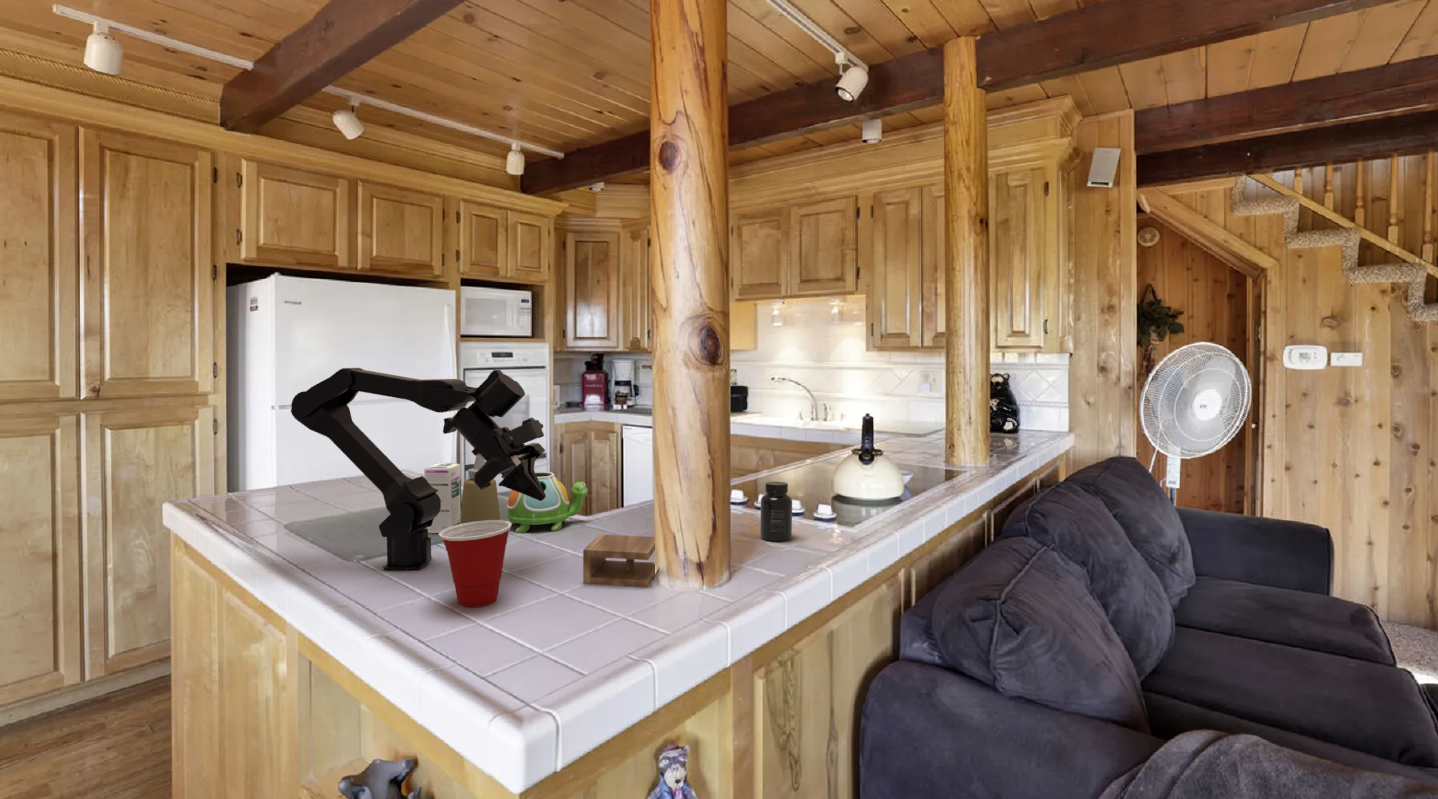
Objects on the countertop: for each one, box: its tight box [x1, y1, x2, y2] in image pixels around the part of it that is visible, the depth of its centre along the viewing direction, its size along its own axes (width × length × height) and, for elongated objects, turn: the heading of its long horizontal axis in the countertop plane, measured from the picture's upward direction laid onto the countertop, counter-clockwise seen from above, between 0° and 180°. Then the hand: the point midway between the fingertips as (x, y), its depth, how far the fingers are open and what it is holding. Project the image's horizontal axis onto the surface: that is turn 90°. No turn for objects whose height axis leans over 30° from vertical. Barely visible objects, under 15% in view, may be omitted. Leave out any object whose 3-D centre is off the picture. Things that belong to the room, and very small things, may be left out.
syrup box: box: [423, 462, 462, 534], centre depth 147 cm, size 6×6×14 cm
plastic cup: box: [438, 519, 513, 608], centre depth 106 cm, size 11×11×12 cm
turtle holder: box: [506, 471, 589, 533], centre depth 153 cm, size 12×18×12 cm
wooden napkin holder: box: [582, 533, 656, 588], centre depth 119 cm, size 6×10×11 cm
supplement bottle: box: [759, 481, 793, 542], centre depth 145 cm, size 7×7×12 cm
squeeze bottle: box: [460, 454, 501, 524], centre depth 142 cm, size 8×8×18 cm
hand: (543, 498), depth 120 cm, fingers closed
